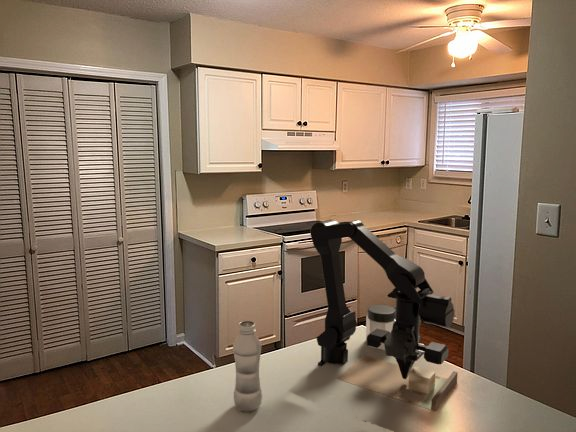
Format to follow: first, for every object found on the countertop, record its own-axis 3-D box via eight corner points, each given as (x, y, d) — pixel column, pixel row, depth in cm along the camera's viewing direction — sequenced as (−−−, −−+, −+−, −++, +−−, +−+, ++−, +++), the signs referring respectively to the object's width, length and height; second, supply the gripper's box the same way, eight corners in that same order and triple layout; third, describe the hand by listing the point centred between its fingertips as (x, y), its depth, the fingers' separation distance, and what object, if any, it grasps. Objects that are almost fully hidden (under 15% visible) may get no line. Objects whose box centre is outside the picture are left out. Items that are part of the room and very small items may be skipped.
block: (408, 388, 113) (408, 372, 113) (414, 381, 116) (415, 366, 116) (428, 394, 110) (429, 378, 110) (434, 387, 113) (435, 372, 113)
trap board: (336, 384, 118) (336, 369, 118) (365, 360, 131) (365, 346, 130) (435, 417, 104) (436, 400, 103) (456, 387, 117) (457, 372, 116)
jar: (379, 357, 133) (380, 316, 131) (359, 346, 140) (360, 308, 138) (401, 349, 138) (403, 310, 136) (381, 340, 145) (382, 302, 143)
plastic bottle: (240, 418, 103) (239, 331, 100) (229, 403, 109) (227, 321, 106) (267, 411, 106) (266, 326, 103) (255, 397, 112) (254, 316, 109)
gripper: (357, 319, 112) (355, 380, 115) (434, 337, 101) (431, 405, 104) (377, 306, 121) (375, 363, 123) (450, 322, 110) (447, 384, 113)
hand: (404, 378), depth 116 cm, fingers closed
